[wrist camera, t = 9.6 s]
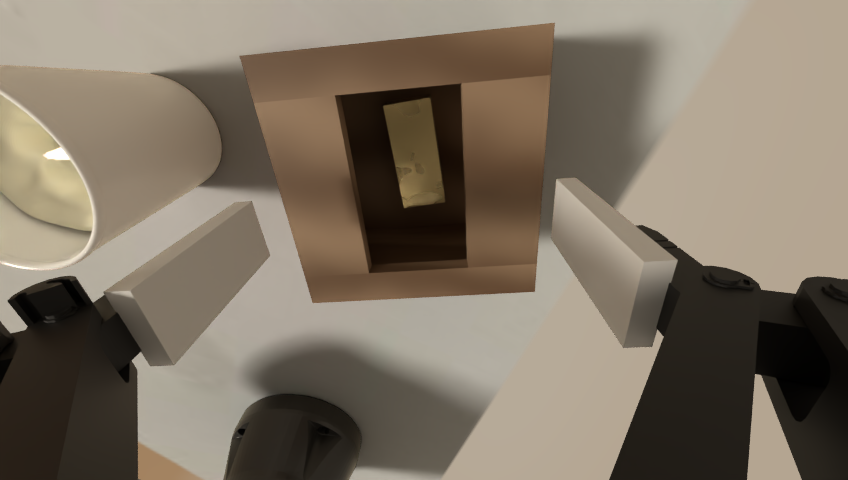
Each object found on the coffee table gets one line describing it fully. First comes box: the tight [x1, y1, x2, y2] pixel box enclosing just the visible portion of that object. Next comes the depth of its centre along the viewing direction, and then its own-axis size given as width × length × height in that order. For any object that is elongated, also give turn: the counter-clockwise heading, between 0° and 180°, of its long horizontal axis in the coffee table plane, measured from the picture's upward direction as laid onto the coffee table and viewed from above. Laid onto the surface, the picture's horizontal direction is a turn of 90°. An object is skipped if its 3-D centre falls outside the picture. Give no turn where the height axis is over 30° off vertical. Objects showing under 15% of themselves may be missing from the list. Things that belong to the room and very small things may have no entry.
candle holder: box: [0, 65, 222, 270], centre depth 21 cm, size 10×10×12 cm
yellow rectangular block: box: [383, 94, 445, 208], centre depth 24 cm, size 3×7×3 cm, turn 9°
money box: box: [240, 23, 555, 303], centre depth 22 cm, size 14×14×9 cm
